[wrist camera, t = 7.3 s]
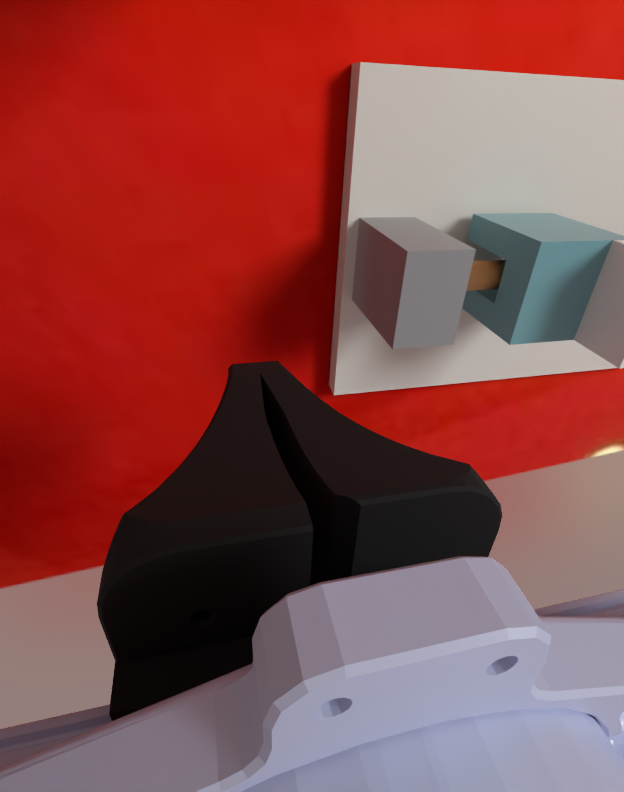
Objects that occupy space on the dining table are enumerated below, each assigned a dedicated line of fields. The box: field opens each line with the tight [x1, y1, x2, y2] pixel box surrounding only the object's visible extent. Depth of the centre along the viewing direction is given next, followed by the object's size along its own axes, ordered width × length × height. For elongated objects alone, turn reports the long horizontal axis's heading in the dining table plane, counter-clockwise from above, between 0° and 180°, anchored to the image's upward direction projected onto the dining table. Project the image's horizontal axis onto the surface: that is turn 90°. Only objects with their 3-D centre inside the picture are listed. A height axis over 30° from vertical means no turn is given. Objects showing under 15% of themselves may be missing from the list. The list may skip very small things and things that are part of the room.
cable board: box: [329, 62, 624, 395], centre depth 20 cm, size 14×20×6 cm
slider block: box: [462, 213, 624, 368], centre depth 18 cm, size 4×4×7 cm
